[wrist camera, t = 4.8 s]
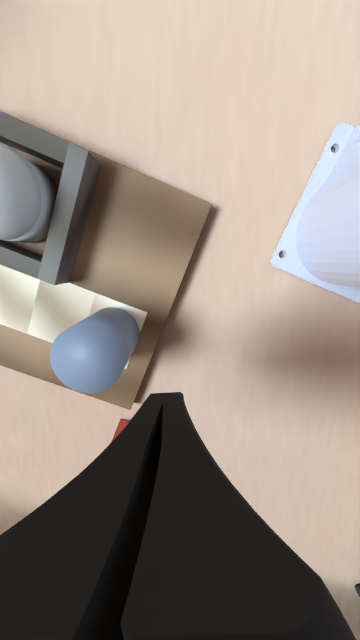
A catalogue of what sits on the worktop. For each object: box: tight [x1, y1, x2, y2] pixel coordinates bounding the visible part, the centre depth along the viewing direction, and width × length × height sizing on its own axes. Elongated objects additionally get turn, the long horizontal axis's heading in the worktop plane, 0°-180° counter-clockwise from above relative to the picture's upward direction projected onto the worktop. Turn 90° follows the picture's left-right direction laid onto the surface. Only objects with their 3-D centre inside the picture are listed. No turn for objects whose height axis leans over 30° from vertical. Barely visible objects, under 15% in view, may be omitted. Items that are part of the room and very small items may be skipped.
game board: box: [0, 112, 211, 410], centre depth 15 cm, size 17×23×3 cm
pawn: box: [50, 307, 140, 393], centre depth 15 cm, size 4×4×5 cm
